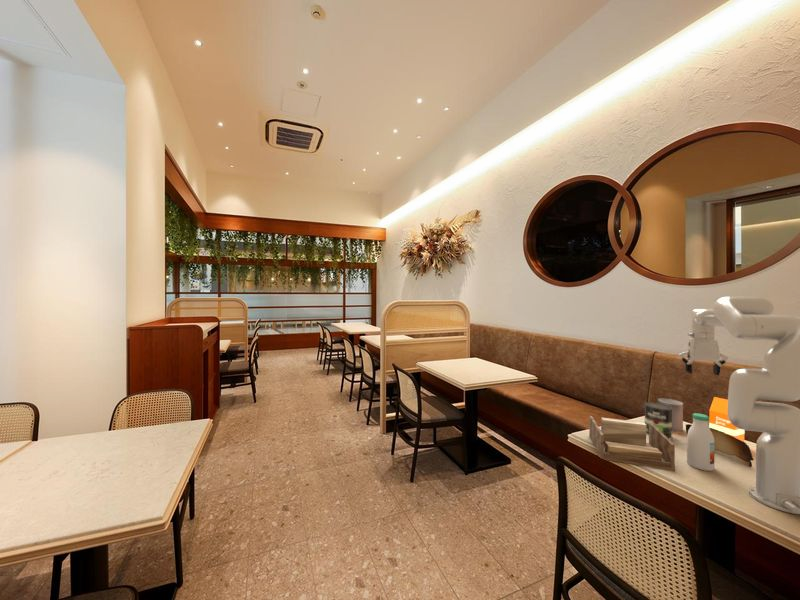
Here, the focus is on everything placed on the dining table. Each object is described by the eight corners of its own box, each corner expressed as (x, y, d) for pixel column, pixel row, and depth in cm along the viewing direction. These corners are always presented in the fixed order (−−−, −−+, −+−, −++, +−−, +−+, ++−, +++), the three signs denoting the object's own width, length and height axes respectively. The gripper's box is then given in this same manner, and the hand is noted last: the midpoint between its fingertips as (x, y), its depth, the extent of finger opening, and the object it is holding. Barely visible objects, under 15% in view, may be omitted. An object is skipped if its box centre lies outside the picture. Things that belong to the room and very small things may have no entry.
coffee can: (670, 442, 142) (670, 411, 142) (642, 434, 150) (642, 405, 150) (673, 435, 149) (674, 406, 149) (646, 428, 157) (646, 400, 157)
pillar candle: (660, 423, 164) (660, 394, 164) (685, 429, 157) (685, 399, 157) (655, 427, 158) (655, 398, 158) (680, 434, 151) (680, 403, 151)
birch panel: (646, 448, 134) (646, 425, 134) (602, 442, 140) (602, 419, 140) (643, 445, 137) (643, 422, 137) (601, 439, 143) (601, 417, 143)
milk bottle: (704, 472, 117) (704, 419, 117) (681, 462, 125) (682, 412, 125) (719, 470, 119) (720, 417, 119) (696, 460, 127) (697, 410, 126)
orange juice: (718, 438, 146) (718, 395, 146) (744, 447, 138) (745, 401, 138) (708, 441, 143) (709, 397, 143) (735, 450, 135) (735, 403, 135)
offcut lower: (661, 463, 122) (661, 458, 122) (607, 455, 128) (607, 450, 128) (656, 457, 126) (656, 452, 126) (604, 450, 133) (604, 445, 133)
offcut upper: (662, 458, 122) (662, 453, 122) (608, 451, 128) (608, 446, 128) (656, 453, 126) (656, 448, 126) (605, 446, 132) (605, 441, 132)
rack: (674, 471, 118) (674, 444, 118) (600, 459, 127) (600, 434, 127) (651, 445, 139) (651, 423, 139) (589, 436, 148) (589, 415, 147)
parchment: (753, 468, 120) (755, 468, 121) (752, 442, 120) (753, 442, 121) (684, 440, 145) (686, 440, 145) (683, 419, 145) (685, 419, 145)
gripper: (683, 336, 142) (682, 373, 142) (733, 338, 136) (732, 377, 136) (675, 334, 149) (674, 370, 149) (722, 336, 143) (722, 373, 143)
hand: (702, 373), depth 143 cm, fingers open, 9 cm apart
